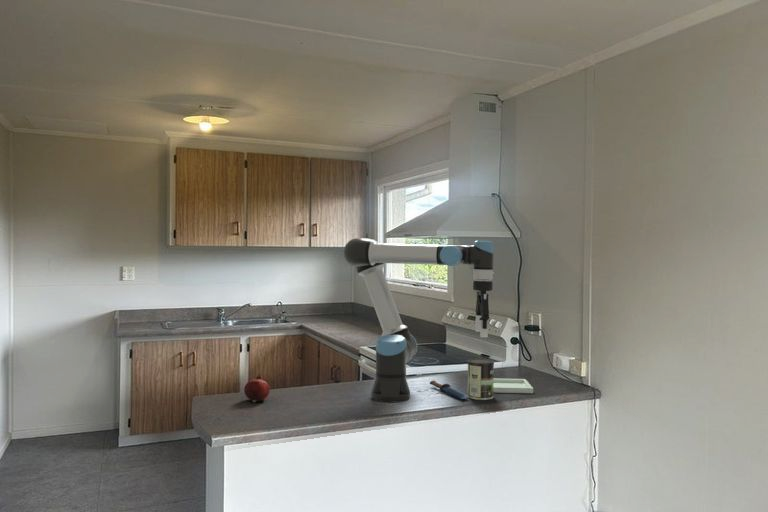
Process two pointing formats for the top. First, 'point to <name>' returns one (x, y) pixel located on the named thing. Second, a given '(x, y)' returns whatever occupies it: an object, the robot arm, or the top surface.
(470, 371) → the coffee can
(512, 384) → the tray
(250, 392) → the fruit
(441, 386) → the knife
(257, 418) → the top surface
